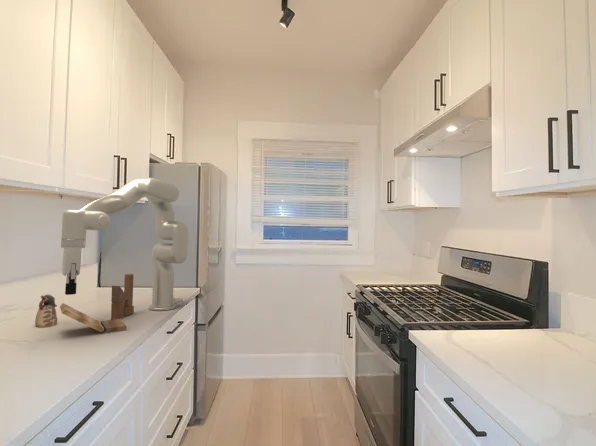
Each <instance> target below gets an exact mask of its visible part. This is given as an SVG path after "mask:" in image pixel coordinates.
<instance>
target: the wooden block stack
mask: <svg viewBox="0 0 596 446" xmlns="http://www.w3.org/2000/svg"><path fill="white" fill-rule="evenodd" d="M123 283H124V285H123V289H122V288H121V286H120V285H112V286H111V308H110V309H111V310H110V320H113V319H121V320H122V319H123V318H124V317H128V316H130V315H133V314H134V312H135V306H134V304H133V302H134V301H133V299H134V297H133V296H134V274H133V273H125V274H124V281H123Z"/></svg>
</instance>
